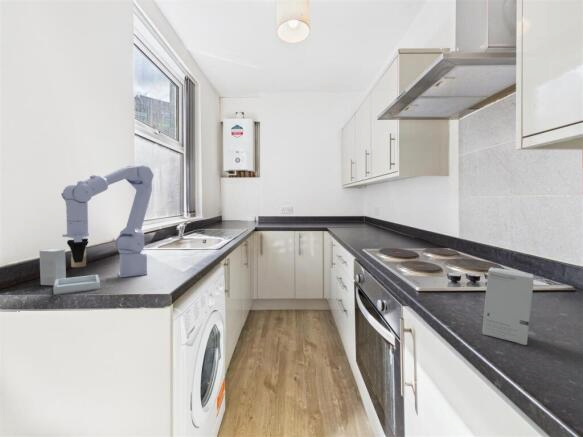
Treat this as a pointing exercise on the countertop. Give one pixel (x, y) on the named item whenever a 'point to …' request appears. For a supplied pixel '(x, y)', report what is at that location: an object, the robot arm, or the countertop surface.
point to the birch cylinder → (79, 262)
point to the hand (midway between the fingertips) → (78, 261)
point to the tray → (76, 284)
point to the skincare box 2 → (508, 305)
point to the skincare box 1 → (52, 266)
